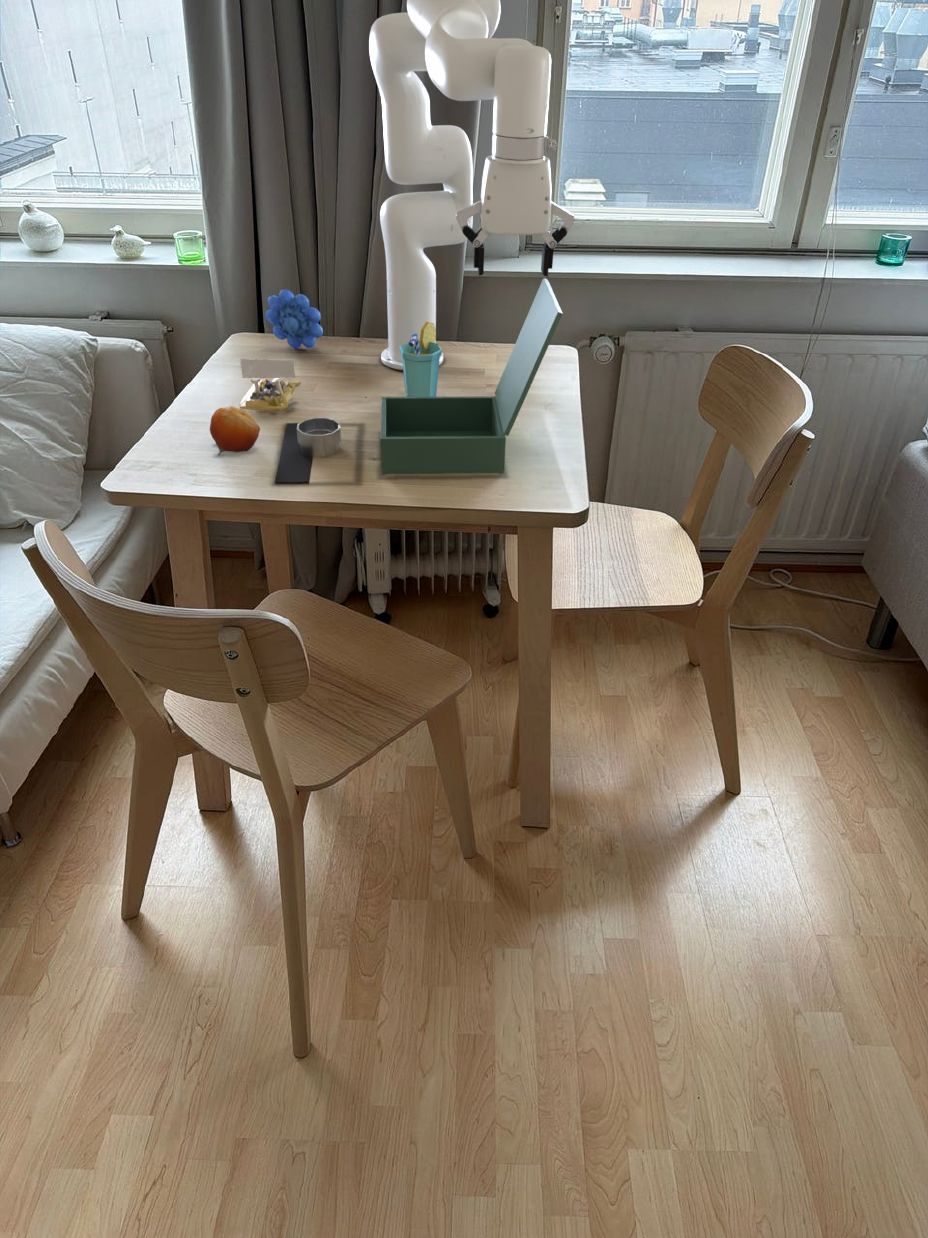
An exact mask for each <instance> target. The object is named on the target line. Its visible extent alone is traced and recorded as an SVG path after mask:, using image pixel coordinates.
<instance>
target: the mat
mask: <svg viewBox="0 0 928 1238" xmlns="http://www.w3.org/2000/svg"><path fill="white" fill-rule="evenodd" d="M299 423H300V422H287V423H286V426H285V431H284V436H283V440H282V444H281V449H280V454H279V458H278V459H279V460H278V463H277V468H276V473H275V478H274V485H310V481H311V474H312V468H313V460H314V458H313V459H310V458H307V457H304V456H303V455H302V453H301V451H300V444H299V443H298V439H297V424H299Z"/></svg>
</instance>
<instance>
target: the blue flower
mask: <svg viewBox="0 0 928 1238" xmlns="http://www.w3.org/2000/svg"><path fill="white" fill-rule="evenodd" d="M278 295H279V296H277V295H274V294H272V295H271V296H269V297H268V299H267V304H268V307H269V309H268V310H266V312H265V319H266V321H267V322H268V323H269V324H271V325H273V327H272V332H273V335H274V336H275V337H276V338H277V339H279V340H282V341H283V340H285V339H286V341H287V344H288V345H289V347H290V348H292V349H299V348H301V347H302V345H303V346H304V347H306V348H307V349H312V348H313V347H315V346H316V339H318V338H321V337H322V336H323V335H324V331H323V327H322V325H320V324H319V322H320V321H321V320H322V317H321V312H320V311H319V310H318V309H317V308H316V307H314V306H313V307H312V306H310V300H309V298H308V297H307V296H306V295H304V294H302V293H298V294H296V295H294V293H293V292H292V291H291V290H289V289H281V290H280V292H279V293H278Z"/></svg>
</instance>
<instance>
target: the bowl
mask: <svg viewBox="0 0 928 1238" xmlns="http://www.w3.org/2000/svg"><path fill="white" fill-rule="evenodd" d="M298 423H299V424H297V439H298V443H299V444H300V451H301V453H302V455H303V456H304V457H307V458H310V459H313V460H314V458H315V459H317V458H329V457H331V456H335V455H337V454H338V452H339V451H340V450H341V442H342V429H341V423H340V422H339V421H337V420H336V419H333V418H329V417H310V418H306V419H303V420H302V421H300V422H298Z"/></svg>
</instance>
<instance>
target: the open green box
mask: <svg viewBox="0 0 928 1238" xmlns="http://www.w3.org/2000/svg"><path fill="white" fill-rule="evenodd" d="M379 437H380V438H379V439H380V466H381V467H380V470H381V471H380V472H381V475H417V474H418V475H419V474H420V475H421V474H422V475H425V474H426V475H428V474H429V475H431V474H433V475H436V474H504V473H505V464H506V463H505V462H506V445H507V444H506V443H507V438H506V437H507V436H506V435H504V433H503V428H502V424H501V419H500V415H499V410H498V406H497V401H496V397H495V395H494V396H493V395H492V396H491V395H490V396H489V395H487V396H485V395H482V396H480V395H479V396H474V395H473V396H470V395H469V396H436V397H406V396H381V397H380V436H379Z"/></svg>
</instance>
